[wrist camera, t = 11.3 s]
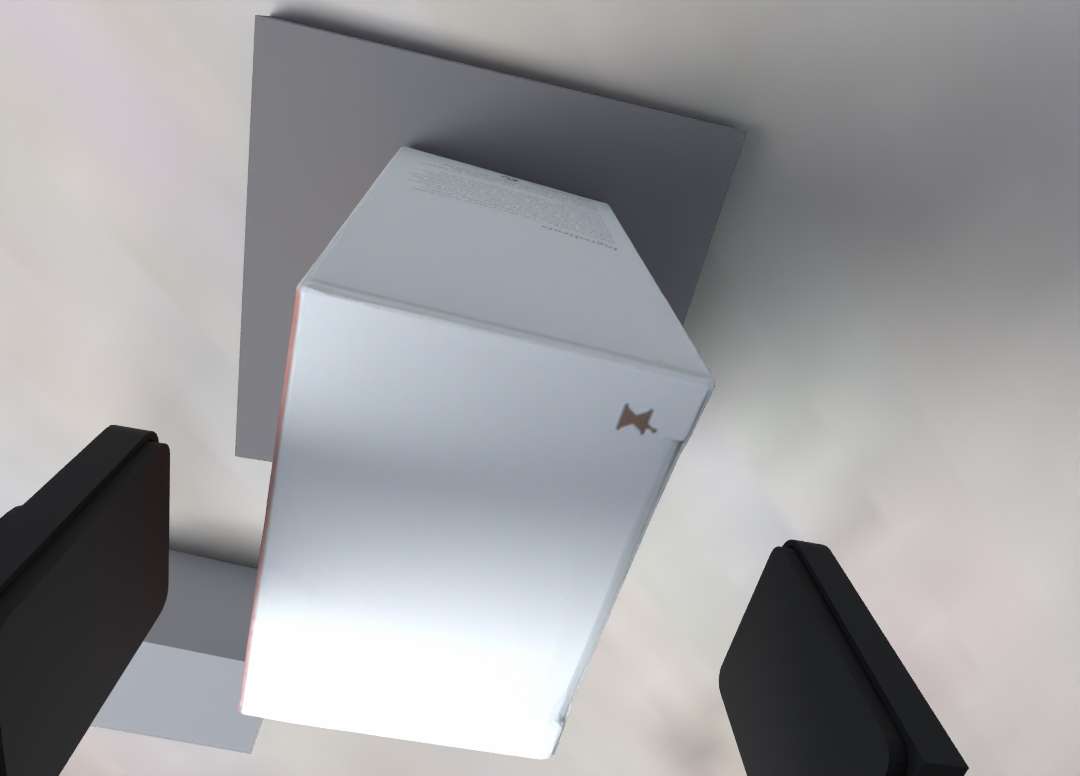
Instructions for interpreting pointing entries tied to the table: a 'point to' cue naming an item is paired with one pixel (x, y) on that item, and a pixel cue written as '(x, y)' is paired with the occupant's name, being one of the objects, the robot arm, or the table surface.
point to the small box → (462, 460)
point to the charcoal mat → (451, 132)
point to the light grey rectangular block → (191, 661)
